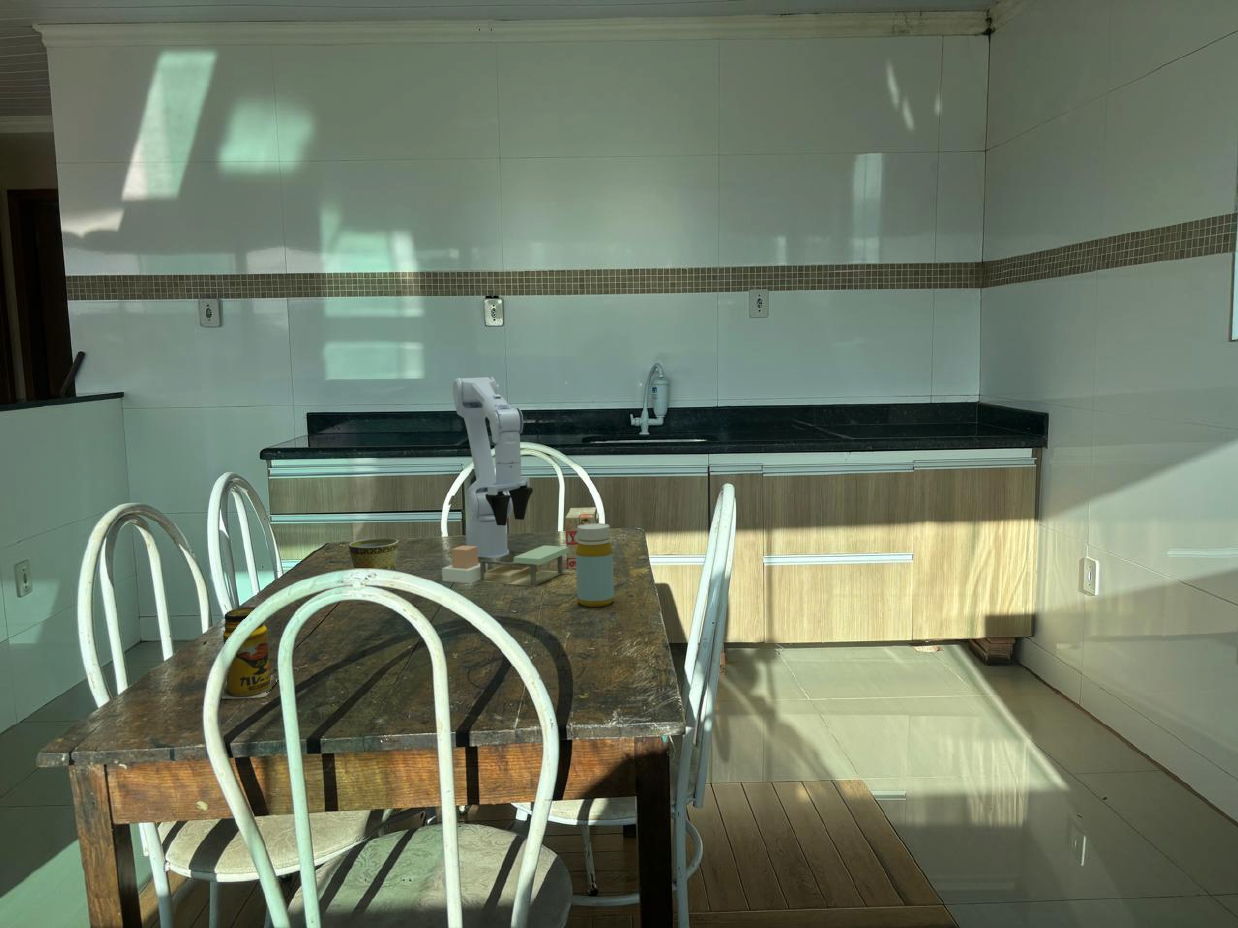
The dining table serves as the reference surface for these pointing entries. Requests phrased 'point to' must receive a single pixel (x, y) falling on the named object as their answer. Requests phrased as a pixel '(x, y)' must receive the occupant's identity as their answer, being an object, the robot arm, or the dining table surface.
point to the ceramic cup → (374, 553)
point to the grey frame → (517, 571)
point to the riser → (462, 574)
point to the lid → (541, 555)
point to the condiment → (247, 660)
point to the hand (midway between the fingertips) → (510, 522)
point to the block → (464, 557)
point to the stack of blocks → (572, 522)
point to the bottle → (594, 565)
